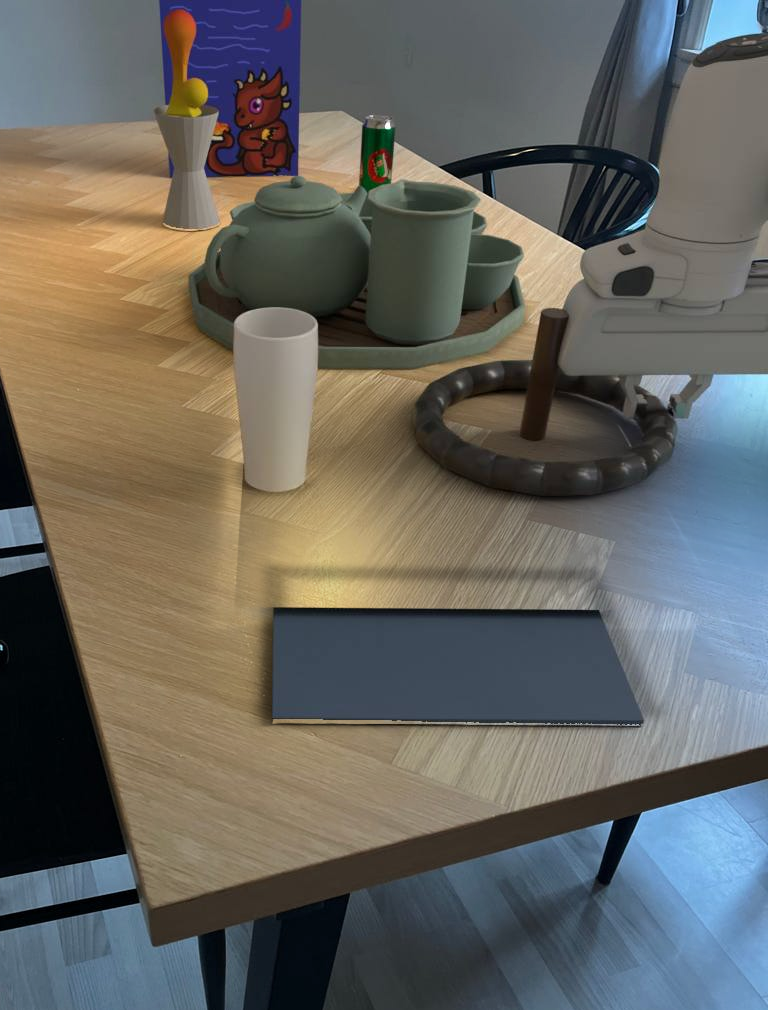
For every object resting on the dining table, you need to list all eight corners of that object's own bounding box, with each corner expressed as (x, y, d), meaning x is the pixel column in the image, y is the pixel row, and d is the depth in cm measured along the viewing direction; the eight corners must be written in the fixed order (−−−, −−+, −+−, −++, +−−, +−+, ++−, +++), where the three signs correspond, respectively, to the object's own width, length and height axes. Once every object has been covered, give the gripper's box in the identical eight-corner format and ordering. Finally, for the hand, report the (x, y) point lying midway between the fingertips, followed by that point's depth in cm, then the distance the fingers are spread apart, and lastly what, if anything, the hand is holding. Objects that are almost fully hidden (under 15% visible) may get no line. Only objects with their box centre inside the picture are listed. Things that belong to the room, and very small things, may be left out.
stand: (562, 429, 95) (590, 296, 87) (581, 469, 89) (613, 331, 81) (480, 428, 95) (500, 295, 87) (494, 469, 89) (517, 330, 81)
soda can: (365, 195, 157) (370, 112, 150) (394, 200, 156) (401, 116, 148) (352, 203, 154) (357, 119, 146) (382, 208, 152) (388, 122, 145)
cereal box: (294, 166, 171) (297, -42, 152) (298, 175, 167) (301, -38, 148) (169, 168, 169) (156, -43, 150) (169, 177, 164) (156, -39, 145)
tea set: (568, 297, 123) (596, 155, 113) (421, 416, 97) (440, 246, 87) (303, 239, 140) (306, 110, 129) (117, 327, 114) (102, 175, 103)
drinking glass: (229, 505, 84) (224, 335, 74) (244, 467, 89) (241, 303, 79) (307, 513, 83) (312, 342, 73) (318, 473, 88) (324, 309, 78)
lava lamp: (151, 228, 143) (129, -67, 121) (175, 211, 150) (159, -71, 128) (208, 234, 141) (197, -64, 119) (230, 217, 148) (224, -69, 125)
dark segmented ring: (630, 379, 100) (635, 353, 98) (709, 498, 82) (718, 469, 80) (400, 384, 100) (401, 357, 98) (427, 504, 82) (430, 474, 80)
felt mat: (586, 589, 75) (588, 583, 74) (642, 727, 63) (644, 720, 63) (273, 587, 75) (273, 580, 74) (271, 724, 63) (271, 717, 63)
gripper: (802, 250, 84) (754, 400, 92) (563, 251, 84) (538, 401, 92) (834, 275, 79) (780, 431, 87) (581, 276, 79) (552, 433, 87)
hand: (654, 416), depth 90 cm, fingers closed on dark segmented ring, 3 cm apart
